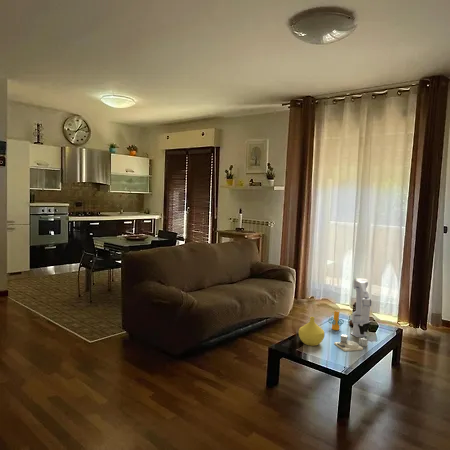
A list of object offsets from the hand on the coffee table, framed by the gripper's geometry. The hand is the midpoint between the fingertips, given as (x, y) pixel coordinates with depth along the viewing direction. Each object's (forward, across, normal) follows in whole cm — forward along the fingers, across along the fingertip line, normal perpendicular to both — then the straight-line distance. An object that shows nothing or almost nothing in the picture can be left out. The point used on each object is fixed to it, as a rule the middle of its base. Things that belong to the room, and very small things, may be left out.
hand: (363, 333), depth 278 cm
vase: (+9, +23, -30) cm, 39 cm away
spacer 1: (+7, +10, -10) cm, 16 cm away
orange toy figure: (+9, -18, -29) cm, 35 cm away
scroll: (+9, -41, -18) cm, 45 cm away
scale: (+9, +9, -6) cm, 14 cm away
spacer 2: (+9, 0, 0) cm, 9 cm away
